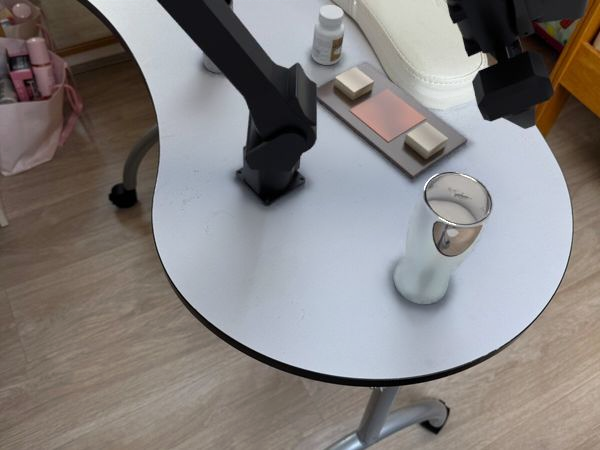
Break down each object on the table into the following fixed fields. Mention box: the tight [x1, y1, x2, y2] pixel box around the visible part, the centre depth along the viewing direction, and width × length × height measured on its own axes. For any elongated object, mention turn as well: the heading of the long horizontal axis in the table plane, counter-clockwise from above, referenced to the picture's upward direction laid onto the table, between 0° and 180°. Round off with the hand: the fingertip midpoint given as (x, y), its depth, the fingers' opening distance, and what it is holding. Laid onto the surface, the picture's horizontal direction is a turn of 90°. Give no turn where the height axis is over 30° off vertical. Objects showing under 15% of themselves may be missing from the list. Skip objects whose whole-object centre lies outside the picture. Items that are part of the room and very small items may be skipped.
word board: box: [317, 62, 468, 180], centre depth 81 cm, size 11×20×2 cm, turn 40°
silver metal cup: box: [393, 171, 494, 305], centre depth 60 cm, size 7×7×15 cm
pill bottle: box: [311, 4, 346, 66], centre depth 86 cm, size 4×4×8 cm
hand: (520, 95), depth 62 cm, fingers open, 9 cm apart
